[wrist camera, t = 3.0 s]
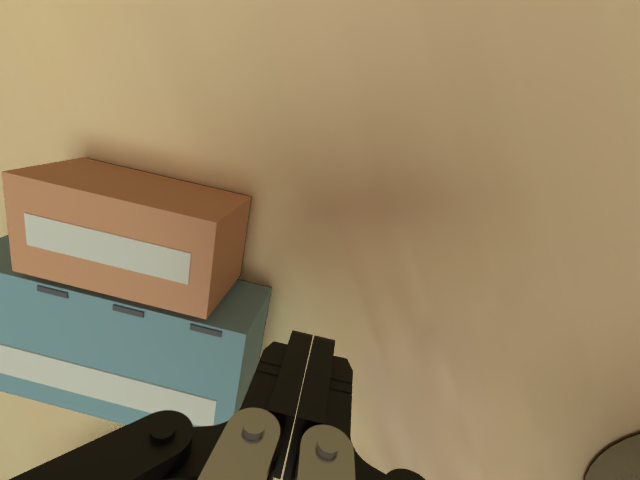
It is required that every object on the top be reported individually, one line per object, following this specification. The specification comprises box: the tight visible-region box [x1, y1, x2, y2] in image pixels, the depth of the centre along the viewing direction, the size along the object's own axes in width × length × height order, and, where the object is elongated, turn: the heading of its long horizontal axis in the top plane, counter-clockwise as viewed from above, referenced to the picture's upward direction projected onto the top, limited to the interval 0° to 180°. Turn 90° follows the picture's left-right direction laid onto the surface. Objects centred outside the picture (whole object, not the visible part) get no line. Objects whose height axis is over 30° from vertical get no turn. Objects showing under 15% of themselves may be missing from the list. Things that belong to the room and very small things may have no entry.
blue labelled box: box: [0, 235, 272, 427], centre depth 22 cm, size 16×8×5 cm, turn 79°
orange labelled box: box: [2, 158, 251, 319], centre depth 19 cm, size 10×5×5 cm, turn 79°
